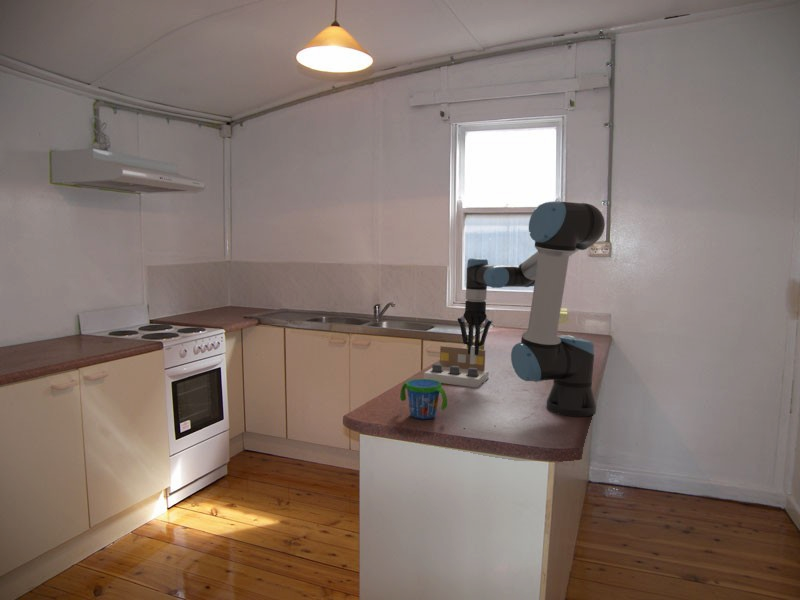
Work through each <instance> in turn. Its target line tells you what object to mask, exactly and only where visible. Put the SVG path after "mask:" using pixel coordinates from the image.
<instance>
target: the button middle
mask: <svg viewBox="0 0 800 600" xmlns="http://www.w3.org/2000/svg"><path fill="white" fill-rule="evenodd" d="M459 370H460V367H459V366H450V374H453V375H459Z"/></svg>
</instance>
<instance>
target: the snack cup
mask: <svg viewBox="0 0 800 600" xmlns="http://www.w3.org/2000/svg"><path fill="white" fill-rule="evenodd" d="M406 390H407V395H406ZM407 396H408V397H407ZM439 396H441V399H442V402H441V408H440V409H441V411H445V410H446V408H447V407H448V398H447V393H446V390H445V389H444V388H443V387H442V383H440V382H438V381H436V380H430V379H424V378H417V379H414V378H413V379H409V380H408V381H406V382H404V383H403V385H402V387H401V390H400V396H399V399H400V400H401V401H402V402H404V401H406V400H407V399H408V407H409V413H410V416H411V418H415V419H419V420H428V419H434V418H435V417H436V413H437V409H438V404H439Z"/></svg>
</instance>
